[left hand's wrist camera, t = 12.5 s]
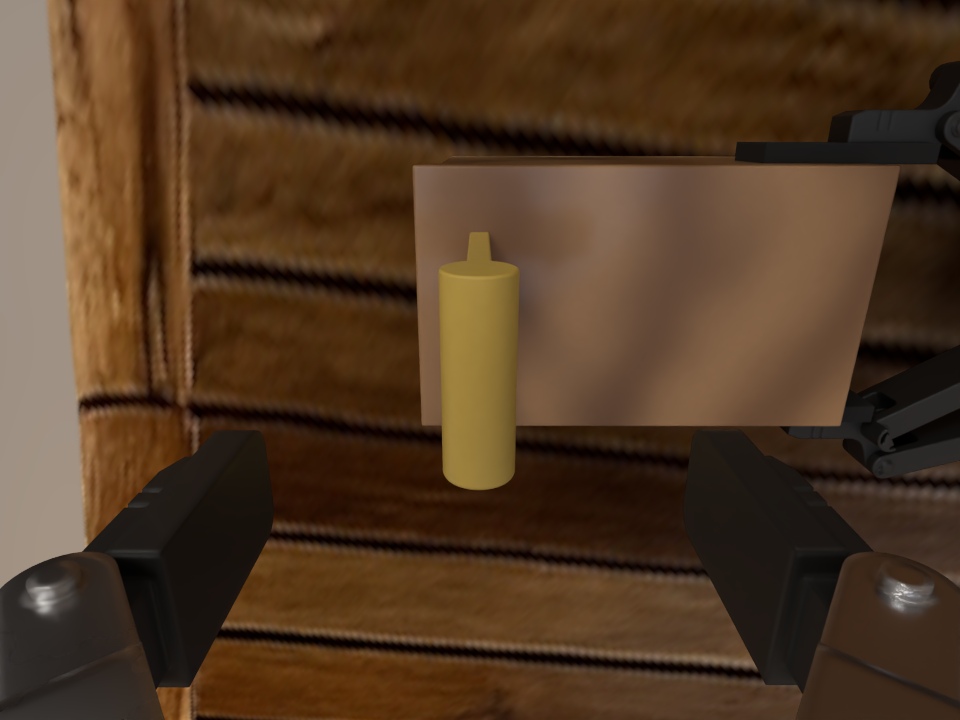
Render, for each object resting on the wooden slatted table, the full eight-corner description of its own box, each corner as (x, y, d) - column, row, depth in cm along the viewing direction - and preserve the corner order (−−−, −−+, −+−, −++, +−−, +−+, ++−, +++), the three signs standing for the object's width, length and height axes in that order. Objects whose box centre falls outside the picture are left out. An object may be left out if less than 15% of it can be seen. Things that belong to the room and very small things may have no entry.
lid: (423, 415, 25) (395, 557, 17) (415, 163, 22) (373, 180, 13) (827, 416, 25) (1003, 557, 17) (884, 164, 22) (1143, 181, 13)
